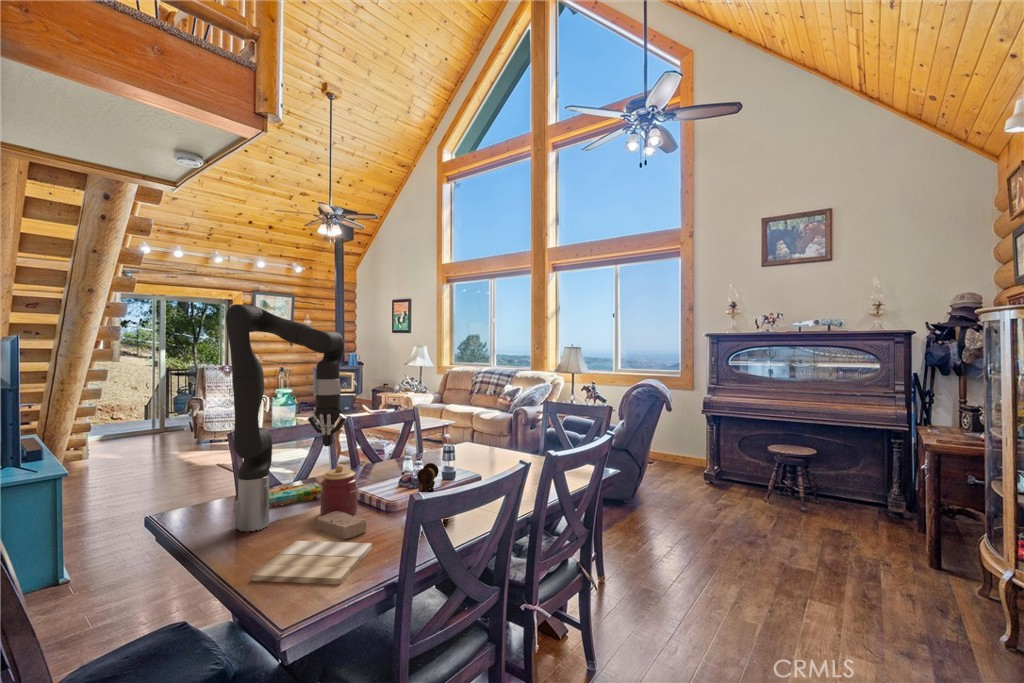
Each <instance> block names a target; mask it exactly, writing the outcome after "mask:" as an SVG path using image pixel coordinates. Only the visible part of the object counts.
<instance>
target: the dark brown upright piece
mask: <svg viewBox="0 0 1024 683" xmlns="http://www.w3.org/2000/svg"><path fill="white" fill-rule="evenodd" d="M438 475H439V468H438V465H436V464H435V463H432V462H429V463H426V464H424V466H423V468H420V469H419V470H418V471H417V474H416V476H417V477H416V478H417V480H418V491H417V493H418V492H433V491H436V490H434V488H435V485H436V481H435V478H437V477H438ZM449 521H450V518H449V519H443V523H444V524H446V523H448V522H449Z"/></svg>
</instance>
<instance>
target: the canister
mask: <svg viewBox="0 0 1024 683" xmlns="http://www.w3.org/2000/svg"><path fill="white" fill-rule="evenodd" d="M355 475H356V471H354V470H352V469H351V468H345V467H343V465H342V464H338V465H336V466H335V468H334V469H330V470H327V472H326V473H324V474H323V475H322V478H323V479H322V480H321V481H320V482H319V485H320V486H321V488H322V490H321V491H320V493H321V494H320V508H319V511H320V517H321V516H323V515H326V514H329V513H331V512H335V511H340V512H343V513H346V514H349V515H351V516H354V515H355V514H356V513H357V511H358V508H359V506H358V505H359V502H358V489H359V488H358V486H357V483H358V481H359V479H358V477H356V476H355Z"/></svg>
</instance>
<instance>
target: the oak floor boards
mask: <svg viewBox="0 0 1024 683" xmlns="http://www.w3.org/2000/svg"><path fill="white" fill-rule="evenodd" d="M279 554H280V553H279ZM279 554H277V555H275V557H273V558H272V559H271V560H270V561H268V562H267V563H266V564H264V565H263V566H262V567H261V568H259V569H258V570H256V571H255V572H254V573H253V574H252V576H251V577H252V579H251V580H252V582H253V581H254V582H274V583H275V582H277V583H280V582H281V583H301V584H320V585H321V584H324V585H327V584H328V585H342V583H344V581H345V579H347V577H348V576H349V575H350V574H351V573H352V572H353V570H355V568H356V567H357V566H358V565H359V564H360V562H359V557H333V556H306V555H279Z"/></svg>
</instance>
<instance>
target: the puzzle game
mask: <svg viewBox="0 0 1024 683" xmlns="http://www.w3.org/2000/svg"><path fill="white" fill-rule="evenodd" d="M321 490H322V486H321V485H320V484H318V482H311V483H310V482H309V483H306V484H305V483H304V484H298V485H292V486H282V487H280V488H273V489H269V504H270V505H269V507H271V506H275V507H277V506H276V505H281V504H286V505H290V504H289V503H291V504H295V502H296V503H301V501H302V502H306V500H307V501H311V500H314V498H315V497H316V496H318V495H321V493H320V491H321ZM281 506H282V505H281Z"/></svg>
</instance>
